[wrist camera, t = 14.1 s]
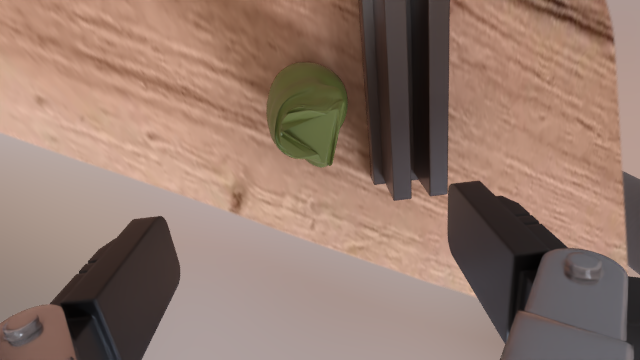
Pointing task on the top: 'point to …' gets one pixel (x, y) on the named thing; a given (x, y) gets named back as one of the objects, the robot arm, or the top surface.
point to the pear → (307, 112)
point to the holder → (407, 92)
